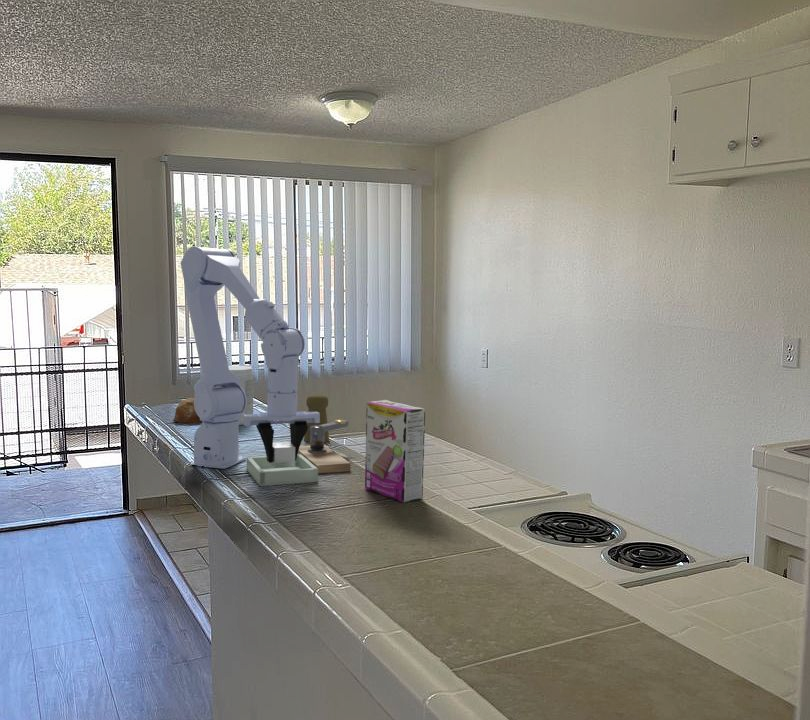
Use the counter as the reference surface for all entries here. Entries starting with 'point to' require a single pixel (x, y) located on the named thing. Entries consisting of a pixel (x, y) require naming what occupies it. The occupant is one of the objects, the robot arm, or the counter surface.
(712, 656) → the counter surface
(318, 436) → the lever
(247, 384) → the supplement tub
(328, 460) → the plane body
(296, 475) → the tray
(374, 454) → the candy bar box
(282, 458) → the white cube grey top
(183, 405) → the bread roll
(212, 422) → the robot arm
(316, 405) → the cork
